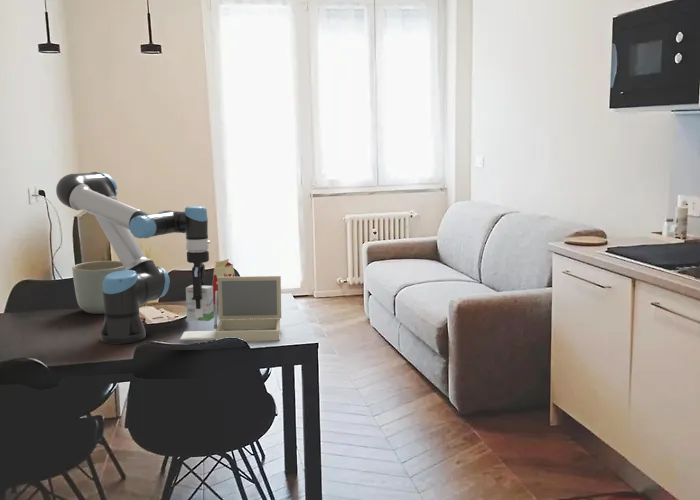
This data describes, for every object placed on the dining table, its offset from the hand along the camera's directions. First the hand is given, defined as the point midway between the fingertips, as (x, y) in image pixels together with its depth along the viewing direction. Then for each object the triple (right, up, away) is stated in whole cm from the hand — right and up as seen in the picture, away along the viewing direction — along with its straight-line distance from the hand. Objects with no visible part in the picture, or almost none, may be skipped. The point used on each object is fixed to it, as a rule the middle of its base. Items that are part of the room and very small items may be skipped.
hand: (200, 314), depth 237 cm
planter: (-48, -2, +37) cm, 61 cm away
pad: (0, -8, +1) cm, 8 cm away
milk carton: (0, -1, +47) cm, 47 cm away
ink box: (0, -2, 0) cm, 2 cm away
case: (+17, -7, +4) cm, 19 cm away
